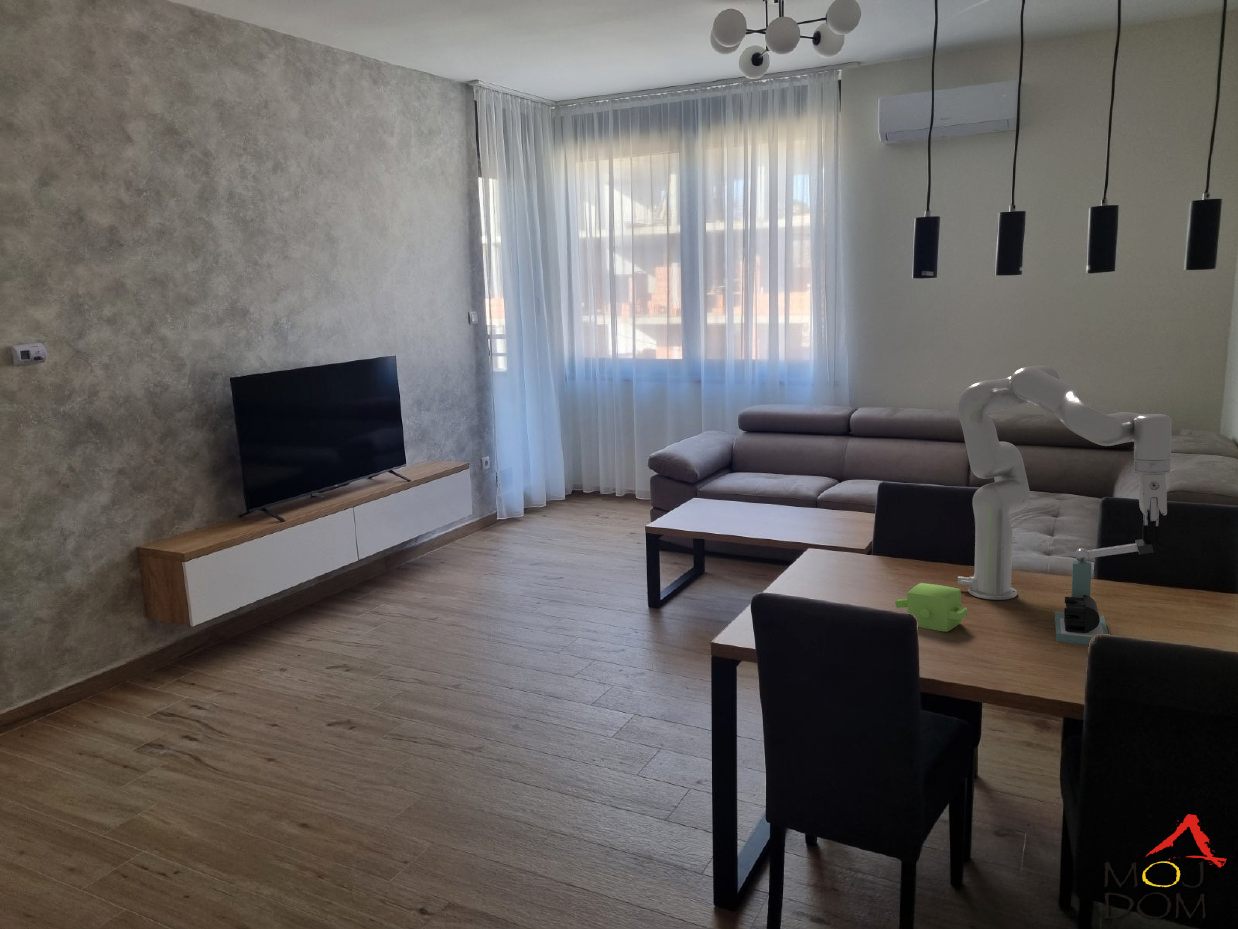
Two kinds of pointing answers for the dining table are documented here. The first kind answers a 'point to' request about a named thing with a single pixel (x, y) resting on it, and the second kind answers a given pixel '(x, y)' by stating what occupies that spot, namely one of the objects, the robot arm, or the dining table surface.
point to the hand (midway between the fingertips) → (1150, 541)
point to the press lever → (1114, 550)
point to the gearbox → (934, 606)
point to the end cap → (1080, 614)
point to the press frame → (1079, 588)
